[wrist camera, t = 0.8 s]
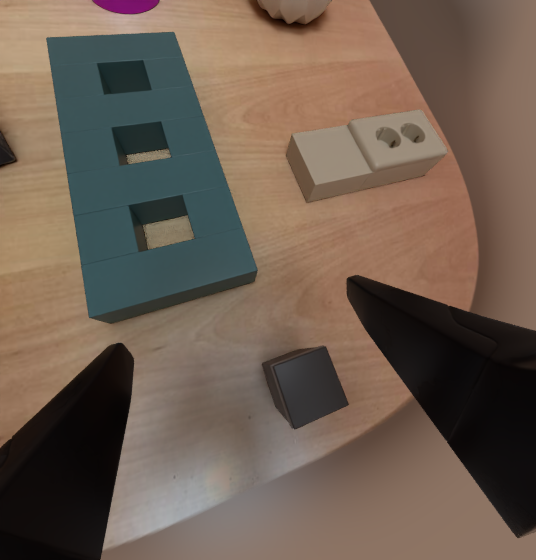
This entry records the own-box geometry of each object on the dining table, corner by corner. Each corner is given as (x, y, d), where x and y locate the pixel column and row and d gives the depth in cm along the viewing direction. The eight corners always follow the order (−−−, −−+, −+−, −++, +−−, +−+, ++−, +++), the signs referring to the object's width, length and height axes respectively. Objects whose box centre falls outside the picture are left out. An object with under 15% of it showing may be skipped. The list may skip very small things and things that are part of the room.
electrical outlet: (293, 126, 27) (421, 107, 31) (286, 155, 30) (400, 135, 34) (318, 178, 25) (450, 151, 29) (306, 202, 29) (425, 175, 33)
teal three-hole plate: (254, 281, 25) (257, 270, 22) (110, 323, 22) (88, 318, 19) (180, 64, 33) (174, 31, 29) (66, 72, 30) (45, 37, 26)
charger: (316, 391, 22) (350, 405, 16) (275, 408, 22) (293, 431, 15) (300, 348, 23) (326, 344, 17) (260, 362, 23) (272, 365, 16)
